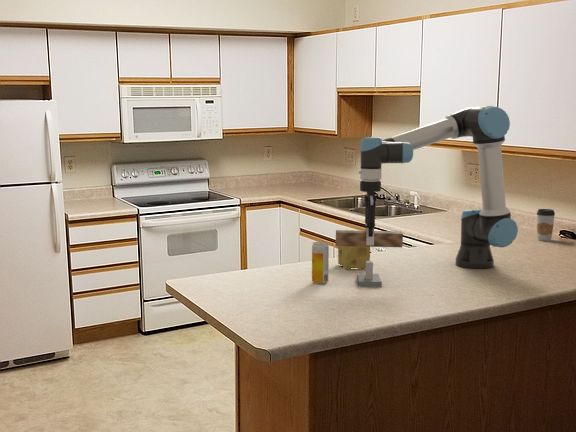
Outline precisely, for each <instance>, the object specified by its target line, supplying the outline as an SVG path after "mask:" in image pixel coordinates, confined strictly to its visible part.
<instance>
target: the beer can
mask: <svg viewBox="0 0 576 432" xmlns="http://www.w3.org/2000/svg"><path fill="white" fill-rule="evenodd" d="M329 252H330V251H329V244H328V242H327V241H314V242H312V245H311V281H312V283H313V284H314V285H322V286H323V285H327V284H326V283H328V282H329V268H330V267H329V262H330V261H329V256H330V255H329V254H330V253H329Z"/></svg>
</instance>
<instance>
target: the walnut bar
mask: <svg viewBox="0 0 576 432" xmlns="http://www.w3.org/2000/svg"><path fill="white" fill-rule="evenodd" d="M366 233H367V231H365V230H349V229H347V230H345V229H340V230H339V229H336V230H335V246H336V247H338V246H357V247H370V248H403V246H404V245H403V244H404V243H403V241H404V238H403V237H404V233H403V232H402V231H399V230H397V231H396V230H374V245H366Z"/></svg>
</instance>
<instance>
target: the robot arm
mask: <svg viewBox="0 0 576 432" xmlns="http://www.w3.org/2000/svg"><path fill="white" fill-rule="evenodd" d="M510 123H511V122H510V117H509V115H508V113H507V112H506V110H503V109H502V108H501V107H498V106H493V105H486V106H484V105H483V106H471V107H467V108H464V109H461V110H459V111H456V112H454V113H451V114H448V115H446V116H445V117H444V119H441V120H439V121H435V122H432V123H429V124H427V125H423V126H420V127H417V128H415V129H412V130H409V131H406V132H403V133H399V134H397V135H393V136H391V137H388V138H384V139H382V137H379V136H377V137H375V136H373V137H363V138H362V139H361V141H360V149H359V150H360V171H358V174H359V175H360V177H359V178H360V181H359V190H360V191H361V192H364V193H366V194H365V195H364V197H363V199H364V207H365V209H364V211H365V213H364V214H365V215H364V216H365V217H364V222H365V226H364V231H367V233H366V245H374V231H375V227H376V207H377V206H376V202H377V196H376V195H375V193H377V192H378V193H379V192H381V191H382V182H381V180H382V164H408V163H410V162H411V161H412V160H413V157H414V151H415V150H417V149H421V148H424V147H427V146H429V145H433V144H436V143H439V142H441V141H444V140H447V139H452V140H456V139H458V138H464V137H465V138H466V137H472V144H473V145H474V146H475V147H476V148H477V155H478V166H479V167H478V168H479V178H480V189H481V190H480V192H481V200H482V201H481V202H482V208H481V209H476V208H475V209H465V210H463V211H462V213H461V218H460V220H461V223H460V224H461V225H460V247H459V249H458V251H457V255H456V257H455V265H456V266H459V267H462V268H468V269H481V270H483V269H490V268H493V267H494V266H495V263H494V262H495V259H494V257H493V254H492V253H493V252H492V250H491V246H492V247H495V248H506V247H508V246H511V245H512V244H513V242H514V241H515V240H516V238H517V236H518V232H519V227H518V224H517V222H515V220H513V219H512V217H511V209H509V208H508V207H507V205H506V191H505V180H504V179H505V178H504V165H503V156H502V155H503V154H502V144H504V142H505V141H506V138H505V136H506V135H507V133H508V131H509V130H510V125H511V124H510Z"/></svg>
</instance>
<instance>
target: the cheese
mask: <svg viewBox="0 0 576 432" xmlns="http://www.w3.org/2000/svg"><path fill="white" fill-rule="evenodd" d="M337 252H338V253H337V254H338V255H337V264H340V265H342V266H343V267H342V268H343V269H344V268H345V269H351V268H366V261H371V260H370V259H371V247H357V246H337ZM345 269H344V270H345Z"/></svg>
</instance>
